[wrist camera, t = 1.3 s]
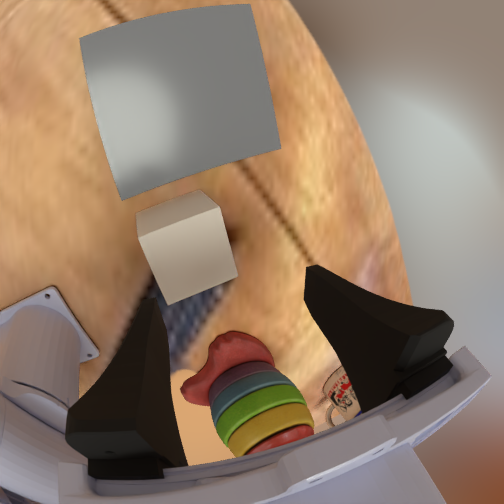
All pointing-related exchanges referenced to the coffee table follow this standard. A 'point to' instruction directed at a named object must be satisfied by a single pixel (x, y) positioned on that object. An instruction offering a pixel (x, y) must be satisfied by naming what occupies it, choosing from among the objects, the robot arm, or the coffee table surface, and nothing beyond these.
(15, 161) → the coffee table surface
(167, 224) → the block
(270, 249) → the coffee table surface
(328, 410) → the teacup with lid
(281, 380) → the stacking bear
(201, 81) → the plate
